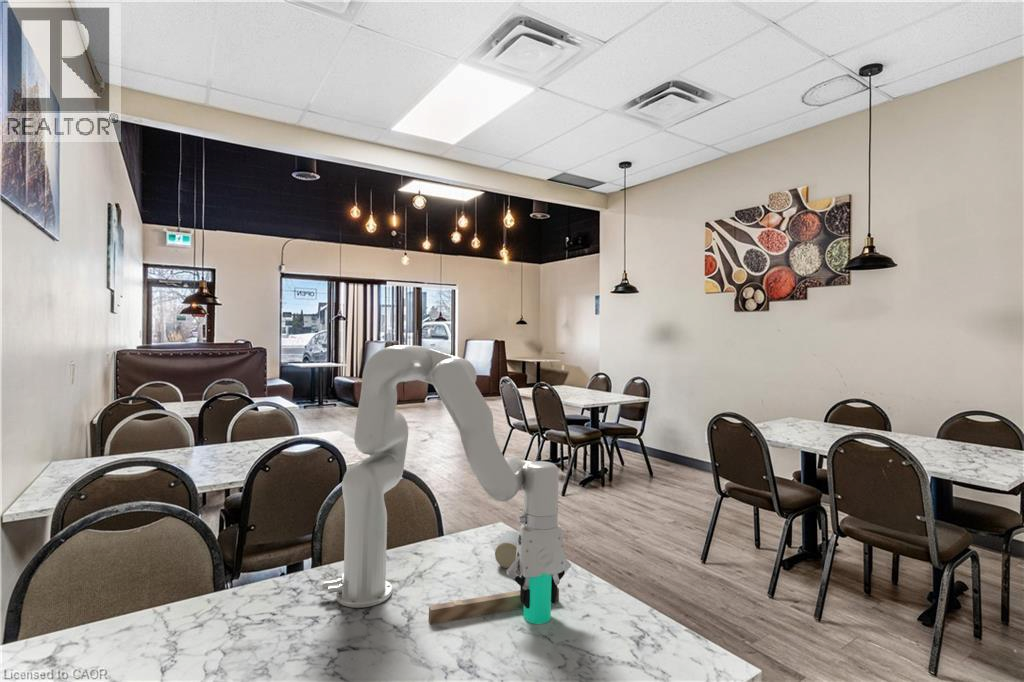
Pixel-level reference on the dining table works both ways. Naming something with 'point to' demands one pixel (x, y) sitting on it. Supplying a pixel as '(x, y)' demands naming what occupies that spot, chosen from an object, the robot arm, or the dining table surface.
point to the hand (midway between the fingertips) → (538, 602)
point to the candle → (539, 600)
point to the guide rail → (476, 607)
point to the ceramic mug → (507, 549)
